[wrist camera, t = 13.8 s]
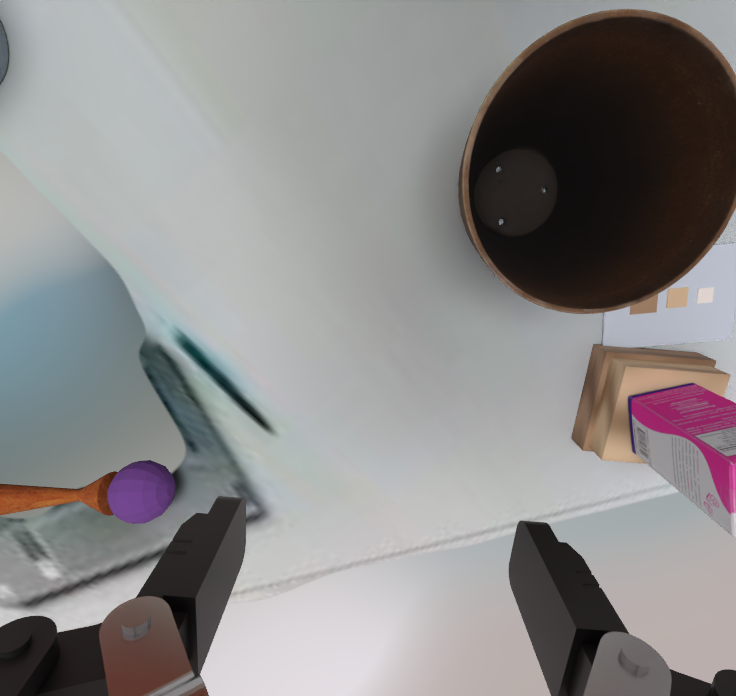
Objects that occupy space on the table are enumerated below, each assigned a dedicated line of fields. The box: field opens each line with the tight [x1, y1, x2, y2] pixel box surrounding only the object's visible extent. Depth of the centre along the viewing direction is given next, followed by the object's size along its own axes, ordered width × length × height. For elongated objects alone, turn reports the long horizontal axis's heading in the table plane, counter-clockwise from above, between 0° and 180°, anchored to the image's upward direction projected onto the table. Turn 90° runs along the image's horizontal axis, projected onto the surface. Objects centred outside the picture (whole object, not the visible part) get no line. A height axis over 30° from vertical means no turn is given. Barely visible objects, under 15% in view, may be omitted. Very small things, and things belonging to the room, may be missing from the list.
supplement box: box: [628, 383, 736, 537], centre depth 33 cm, size 6×6×12 cm
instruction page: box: [602, 243, 736, 348], centre depth 41 cm, size 9×12×1 cm
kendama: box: [0, 460, 175, 524], centre depth 45 cm, size 6×6×20 cm
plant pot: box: [458, 9, 736, 314], centre depth 31 cm, size 15×15×16 cm
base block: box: [572, 344, 730, 464], centre depth 41 cm, size 10×10×5 cm
